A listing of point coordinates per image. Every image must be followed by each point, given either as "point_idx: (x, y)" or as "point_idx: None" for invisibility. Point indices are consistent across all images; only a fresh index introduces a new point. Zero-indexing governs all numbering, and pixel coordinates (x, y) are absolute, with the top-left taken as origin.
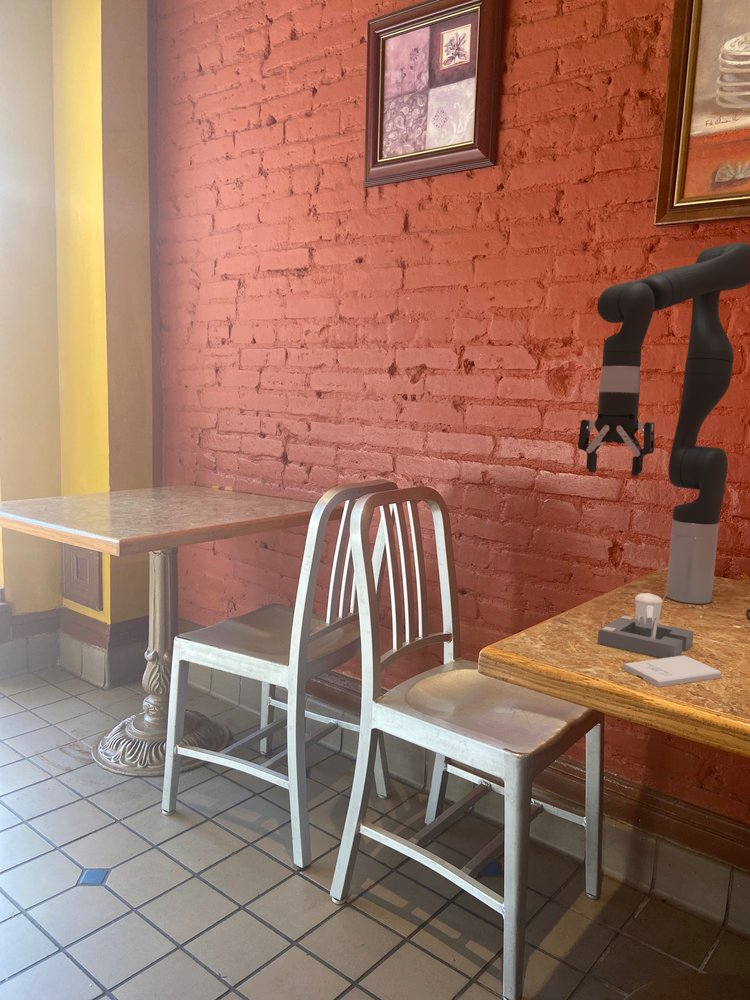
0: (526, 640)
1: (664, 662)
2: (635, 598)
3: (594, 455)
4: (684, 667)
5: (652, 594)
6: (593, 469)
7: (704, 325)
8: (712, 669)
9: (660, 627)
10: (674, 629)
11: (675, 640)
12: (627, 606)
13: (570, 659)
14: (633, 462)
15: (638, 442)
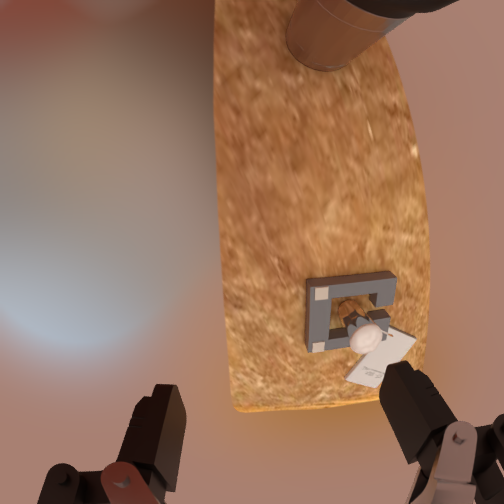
0: (243, 379)
1: (376, 356)
2: (351, 348)
3: (169, 476)
4: (392, 354)
5: (372, 341)
6: (180, 415)
7: None
8: (411, 341)
9: (364, 293)
10: (378, 289)
11: (384, 323)
12: (268, 154)
13: (300, 389)
14: (404, 442)
15: (471, 490)
